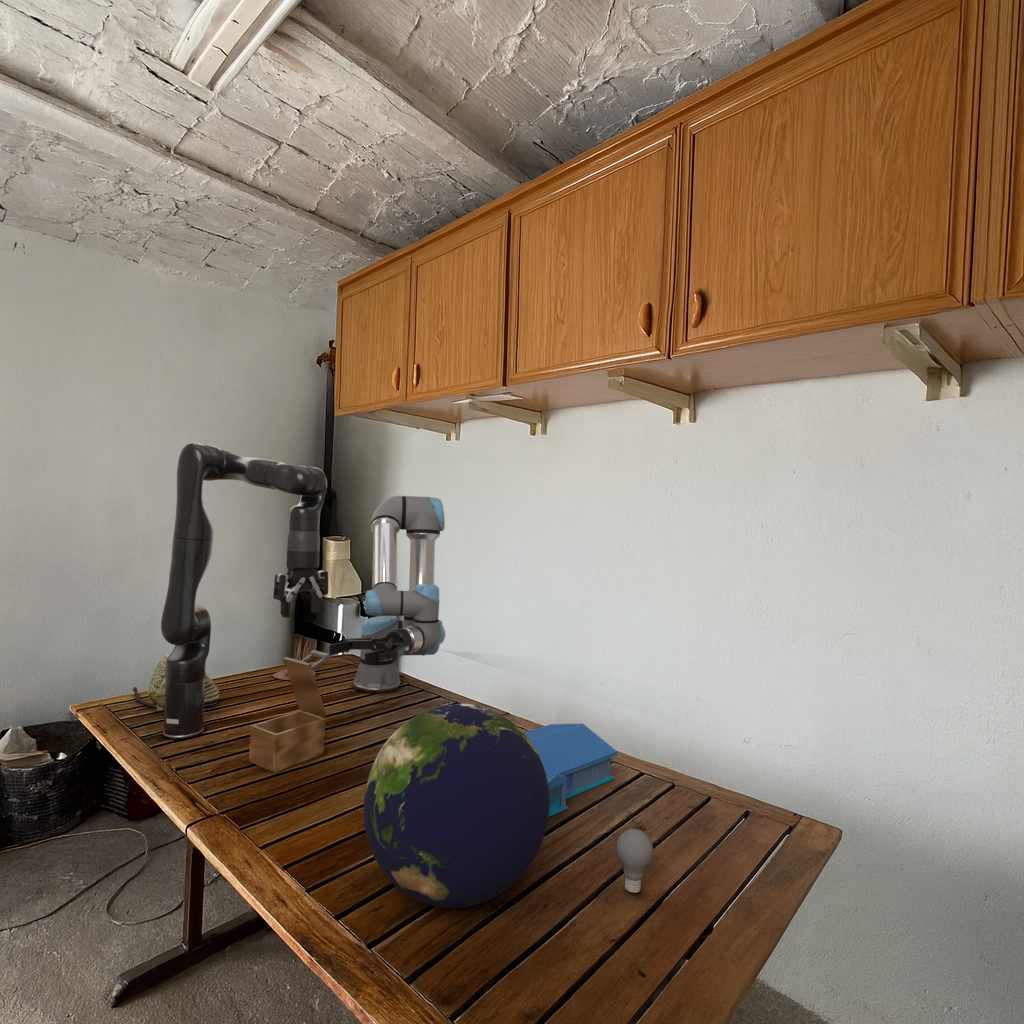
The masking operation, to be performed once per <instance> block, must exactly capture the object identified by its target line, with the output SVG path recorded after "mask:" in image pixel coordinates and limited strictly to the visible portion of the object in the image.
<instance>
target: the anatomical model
mask: <svg viewBox="0 0 1024 1024" xmlns="http://www.w3.org/2000/svg"><path fill="white" fill-rule="evenodd" d="M309 663H310V664H311V666H312V665H314V664H315V663H316V662H309ZM314 670H315V669H313V672H314V676H316V671H314ZM272 677H273V678H275V679H277V680H281V681H282V680H283V681H290V679H289V676H288V673H287V670H286V669H284V670H281V671H278V672H275V673H274V674H272Z"/></svg>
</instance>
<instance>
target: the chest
mask: <svg viewBox="0 0 1024 1024" xmlns="http://www.w3.org/2000/svg"><path fill="white" fill-rule="evenodd" d="M249 733H250V734H249V760H248V762H249V763H251V764H253V765H256V766H258V767H261V768H263V769H265V770H268V771H270V772H272V773H277V772H280V771H282V770H286V769H287V768H290V767H293V766H295V765H297V764H301V763H302V762H307V761H309V760H311V759H313V758H316V757H318V756H321V755H324V754H325V735H326V718H325V717H324V718H323V717H320V716H317V715H314V714H311V713H309V712H306V711H303V710H297V711H294V712H291V713H288V714H287V713H286V714H285V715H280V716H278V717H275V718H271V719H268V720H265V721H264V720H263V721H261V722H258V723H255V724H252V725H250V731H249Z"/></svg>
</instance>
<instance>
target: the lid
mask: <svg viewBox="0 0 1024 1024" xmlns="http://www.w3.org/2000/svg"><path fill="white" fill-rule="evenodd" d="M312 658H314V659H317V660H318V661H317V662H314V663H315V664H314V665H312V666H311V664H310V663H311V662H308V661H309V660H311V659H312ZM331 659H332V655H330V654H329V653H326V652H323V651H319V650H314V649H313V650H311V651H310V652H309V655H307V656H306V657H304V658H303V659H301V660H298V659H295V658H292V657H288V656H284V657H283V658H282V660H283V663H284V666H285V670H287V673H288V676H289V679H290V680H289V682H290V685H291V688H292V691H293V695H294V697H295V701H296V704H297V707H298V710H299V711H304V712H306V713H309V714H312V715H315V716H318V717H321V718H324V719H325V718H326V717H328V716H327V711H326V709H325V706H324V702H323V698H322V696H321V693H320V690H319V687H318V682H317V679H316V675H314V672H315V671H314V670H315V669H316V668H318V667H319V666H321V665H322V664H323V663H324V662H329V661H331ZM313 669H314V670H313ZM313 671H314V672H313Z"/></svg>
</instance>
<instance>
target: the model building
mask: <svg viewBox="0 0 1024 1024" xmlns="http://www.w3.org/2000/svg"><path fill="white" fill-rule="evenodd" d="M523 733H524V734H525V735H526V736H527V737H528V738H529V739H530V741H531V742H532V744H533V745H534V747H535V749H536V750H537V752H538V754H539V756H540V759H541V761H542V764H543V766H544V770H545V773H546V777H547V782H548V788H549V817H548V818H550V817H552V816H555V815H558V814H559V813H562V812H563V811H566V810H568V809H569V806H567V800H568V799H570V798H572V797H575V796H577V795H580V794H582V793H585V792H587V791H589V790H591V789H594V788H597V787H599V786H601V785H603V784H606V783H609V782H610V781H613V780H615V776H614V775H612V758H614V757H617V756H618V751H617V750H616V749H615V748H614V747H612V746H611V745H610V744H609V743H608V742H607V741H605V740H604V739H603V738H602V737H600V736H599V734H597V733H595V732H594V731H593V730H592V729H590V727H588V726H587V725H586V724H584V723H583V722H581V723H550V724H548V725H547V724H546V725H544V726H543V725H542V726H540V727H537V728H533V729H530V730H526V731H523Z"/></svg>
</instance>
